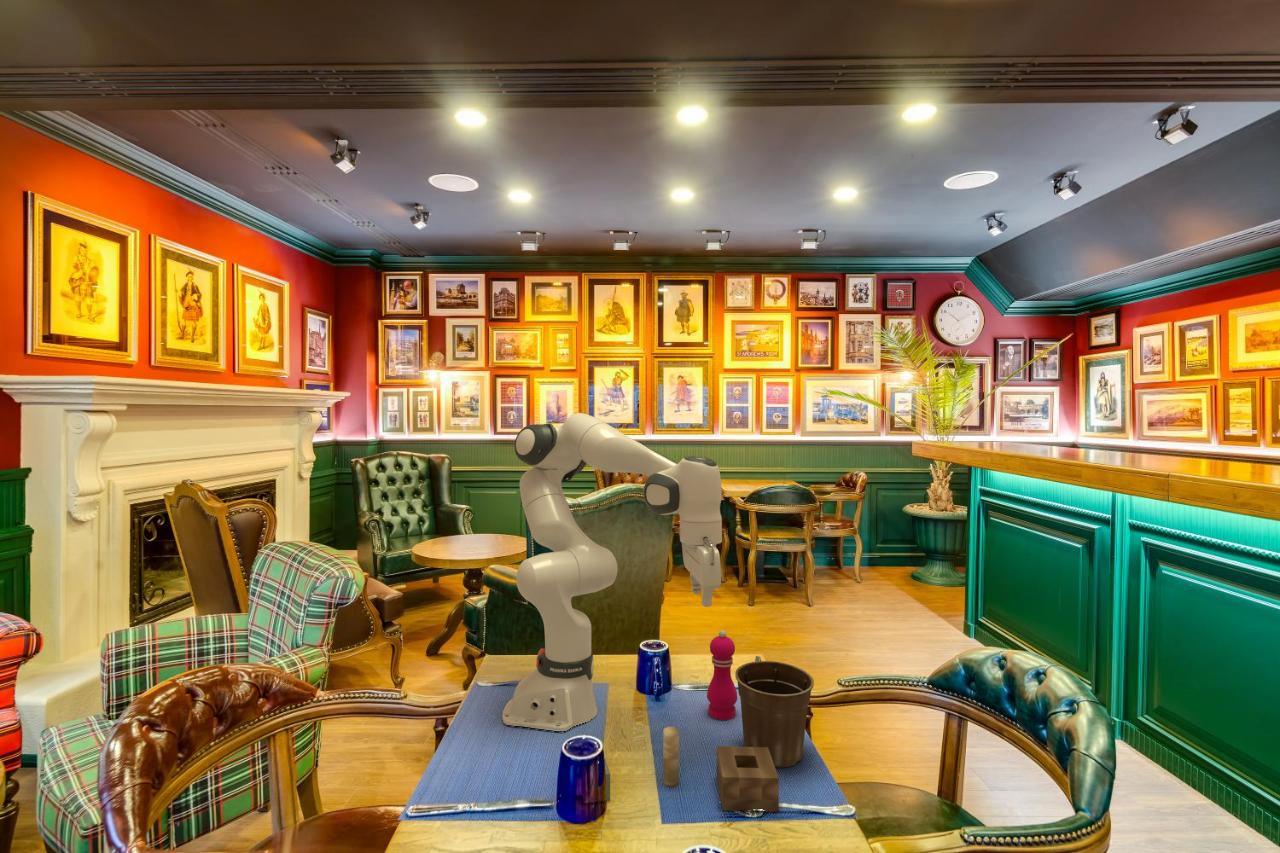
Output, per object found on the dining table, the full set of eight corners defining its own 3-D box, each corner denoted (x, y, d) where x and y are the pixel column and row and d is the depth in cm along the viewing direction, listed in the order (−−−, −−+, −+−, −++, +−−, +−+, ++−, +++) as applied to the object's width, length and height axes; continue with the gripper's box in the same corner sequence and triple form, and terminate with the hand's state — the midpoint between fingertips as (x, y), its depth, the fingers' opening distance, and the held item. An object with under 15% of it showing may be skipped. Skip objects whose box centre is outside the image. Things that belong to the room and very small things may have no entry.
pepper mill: (736, 707, 142) (736, 625, 142) (738, 722, 135) (738, 636, 135) (706, 705, 143) (707, 624, 143) (707, 720, 136) (707, 635, 136)
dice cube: (579, 788, 110) (579, 762, 110) (605, 784, 111) (605, 758, 111) (583, 805, 105) (583, 777, 105) (610, 801, 107) (610, 773, 107)
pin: (663, 786, 111) (663, 734, 111) (663, 777, 114) (663, 726, 114) (679, 787, 111) (679, 734, 111) (678, 777, 114) (678, 726, 114)
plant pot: (827, 772, 116) (827, 691, 116) (749, 778, 113) (749, 696, 113) (794, 729, 132) (794, 658, 132) (725, 734, 129) (725, 662, 129)
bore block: (722, 810, 104) (722, 777, 104) (716, 776, 114) (716, 746, 114) (778, 811, 104) (778, 778, 104) (767, 777, 114) (767, 747, 114)
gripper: (728, 542, 113) (729, 613, 112) (704, 525, 133) (705, 586, 133) (696, 543, 112) (697, 615, 112) (677, 526, 132) (677, 587, 132)
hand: (701, 599), depth 122 cm, fingers open, 8 cm apart
